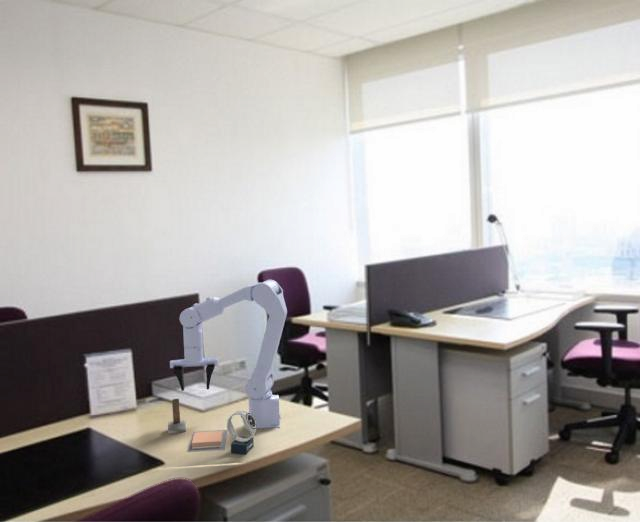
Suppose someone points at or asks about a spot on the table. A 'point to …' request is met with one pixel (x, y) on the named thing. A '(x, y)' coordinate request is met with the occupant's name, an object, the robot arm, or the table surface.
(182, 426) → the trowel
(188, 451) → the mat
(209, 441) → the tile
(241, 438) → the watch
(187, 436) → the table surface
